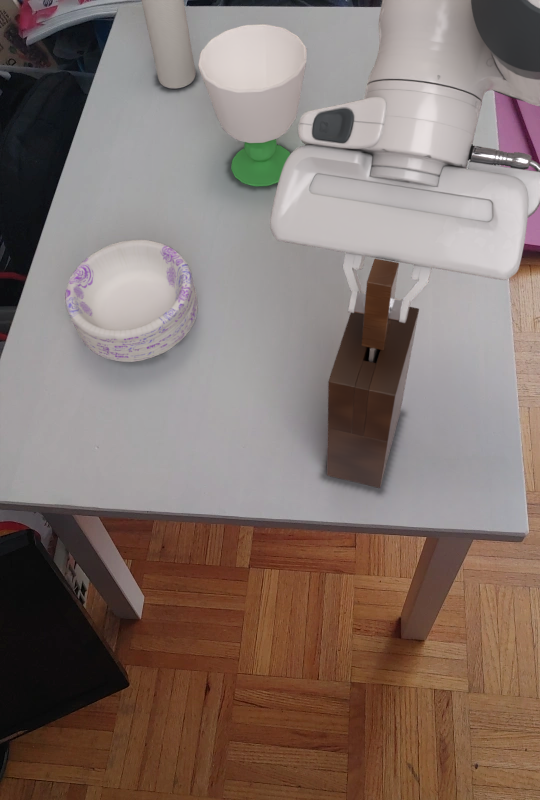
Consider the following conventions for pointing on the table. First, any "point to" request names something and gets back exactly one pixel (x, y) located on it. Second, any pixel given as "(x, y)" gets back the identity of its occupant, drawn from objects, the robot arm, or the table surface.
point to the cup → (255, 94)
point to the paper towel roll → (170, 41)
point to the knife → (378, 305)
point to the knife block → (366, 401)
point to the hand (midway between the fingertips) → (376, 317)
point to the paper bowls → (132, 300)
